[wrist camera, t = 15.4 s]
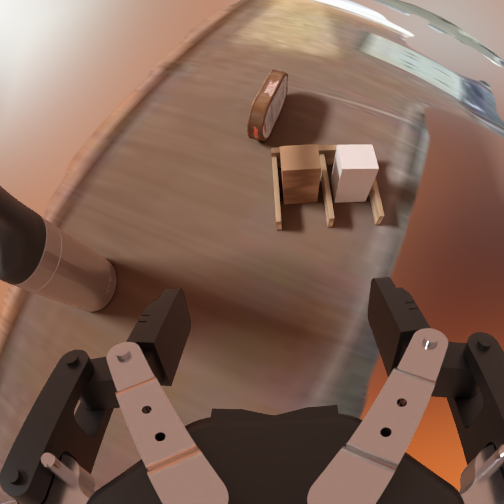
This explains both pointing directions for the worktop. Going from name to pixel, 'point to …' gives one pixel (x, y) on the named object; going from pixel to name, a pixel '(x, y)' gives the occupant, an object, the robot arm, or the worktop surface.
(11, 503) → the ink cartridge box
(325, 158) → the rack
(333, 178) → the white block
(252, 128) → the tin
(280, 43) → the worktop surface
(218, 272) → the worktop surface
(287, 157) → the tan block
